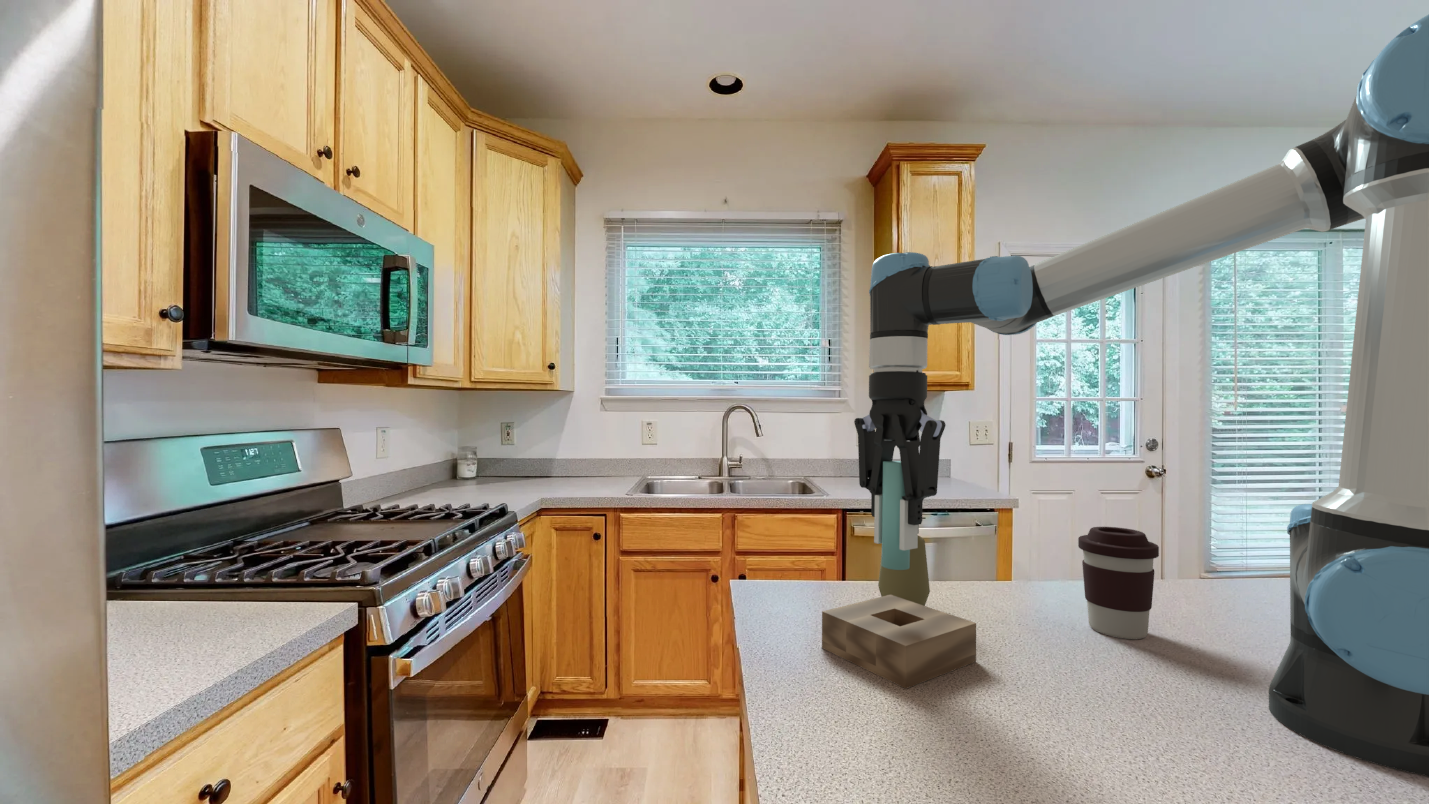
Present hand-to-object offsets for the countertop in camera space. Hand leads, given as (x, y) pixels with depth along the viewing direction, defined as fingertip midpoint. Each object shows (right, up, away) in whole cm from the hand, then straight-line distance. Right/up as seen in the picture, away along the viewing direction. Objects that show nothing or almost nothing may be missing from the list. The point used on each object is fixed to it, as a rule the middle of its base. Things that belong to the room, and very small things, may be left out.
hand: (895, 544), depth 79 cm
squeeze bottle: (+7, -15, +17) cm, 24 cm away
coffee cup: (+36, -15, +9) cm, 40 cm away
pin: (0, -3, 0) cm, 3 cm away
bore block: (0, -15, 0) cm, 15 cm away
